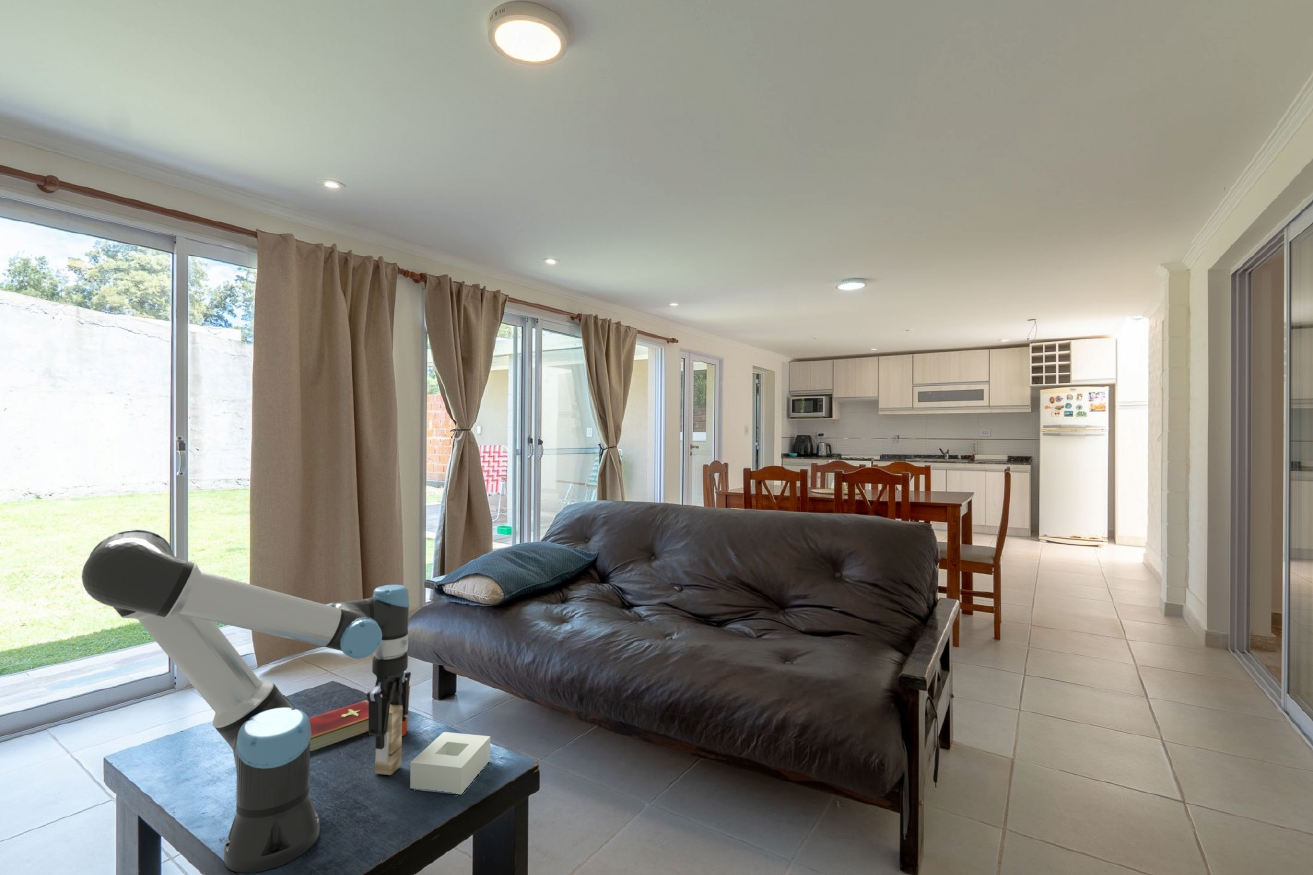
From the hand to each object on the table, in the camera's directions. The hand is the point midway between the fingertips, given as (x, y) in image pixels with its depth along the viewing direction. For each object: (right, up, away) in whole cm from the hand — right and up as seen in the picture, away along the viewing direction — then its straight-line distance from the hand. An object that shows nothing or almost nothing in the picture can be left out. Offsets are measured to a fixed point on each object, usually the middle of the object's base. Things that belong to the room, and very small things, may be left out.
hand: (388, 755), depth 139 cm
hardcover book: (-22, -4, +18) cm, 29 cm away
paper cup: (-6, -4, +17) cm, 19 cm away
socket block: (+15, -4, -1) cm, 16 cm away
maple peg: (0, -3, 0) cm, 3 cm away
